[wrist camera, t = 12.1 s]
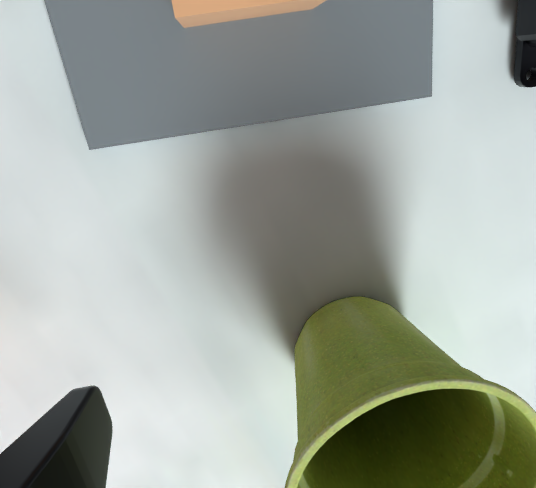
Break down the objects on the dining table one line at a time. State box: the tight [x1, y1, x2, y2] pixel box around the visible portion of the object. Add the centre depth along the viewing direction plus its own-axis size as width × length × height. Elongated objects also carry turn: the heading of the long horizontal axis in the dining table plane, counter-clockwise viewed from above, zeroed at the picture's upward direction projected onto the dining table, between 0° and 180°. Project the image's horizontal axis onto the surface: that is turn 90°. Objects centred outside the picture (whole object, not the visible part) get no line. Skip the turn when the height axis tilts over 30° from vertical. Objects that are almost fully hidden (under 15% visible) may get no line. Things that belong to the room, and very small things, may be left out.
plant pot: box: [285, 296, 536, 488], centre depth 19 cm, size 9×9×9 cm
